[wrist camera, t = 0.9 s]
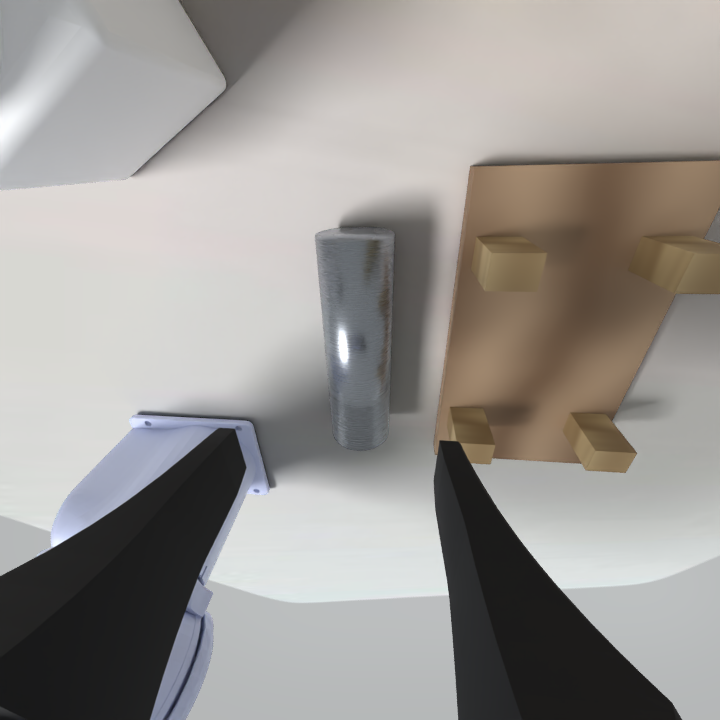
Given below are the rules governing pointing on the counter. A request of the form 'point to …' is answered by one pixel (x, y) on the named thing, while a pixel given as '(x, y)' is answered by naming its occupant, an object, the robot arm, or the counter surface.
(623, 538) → the counter surface
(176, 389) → the counter surface
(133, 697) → the robot arm
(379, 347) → the tube
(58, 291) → the counter surface
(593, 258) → the stand
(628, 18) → the counter surface
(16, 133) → the medicine bottle
